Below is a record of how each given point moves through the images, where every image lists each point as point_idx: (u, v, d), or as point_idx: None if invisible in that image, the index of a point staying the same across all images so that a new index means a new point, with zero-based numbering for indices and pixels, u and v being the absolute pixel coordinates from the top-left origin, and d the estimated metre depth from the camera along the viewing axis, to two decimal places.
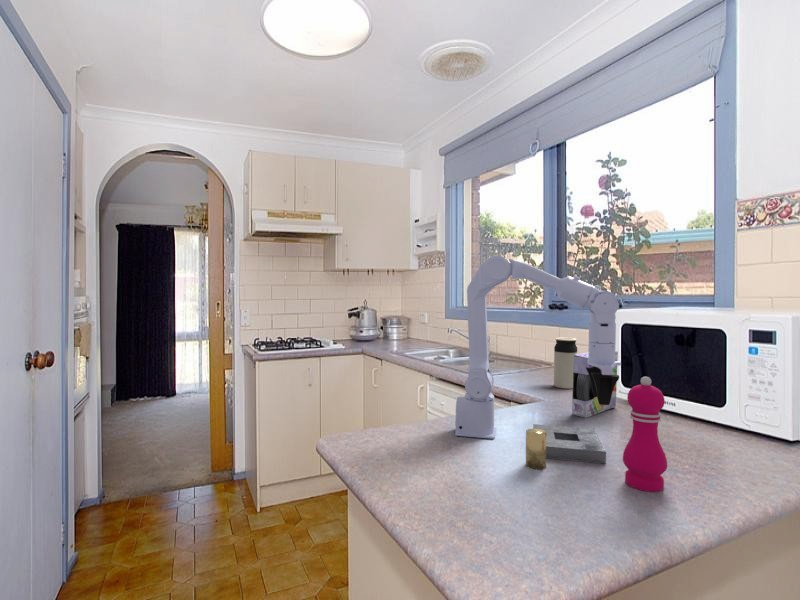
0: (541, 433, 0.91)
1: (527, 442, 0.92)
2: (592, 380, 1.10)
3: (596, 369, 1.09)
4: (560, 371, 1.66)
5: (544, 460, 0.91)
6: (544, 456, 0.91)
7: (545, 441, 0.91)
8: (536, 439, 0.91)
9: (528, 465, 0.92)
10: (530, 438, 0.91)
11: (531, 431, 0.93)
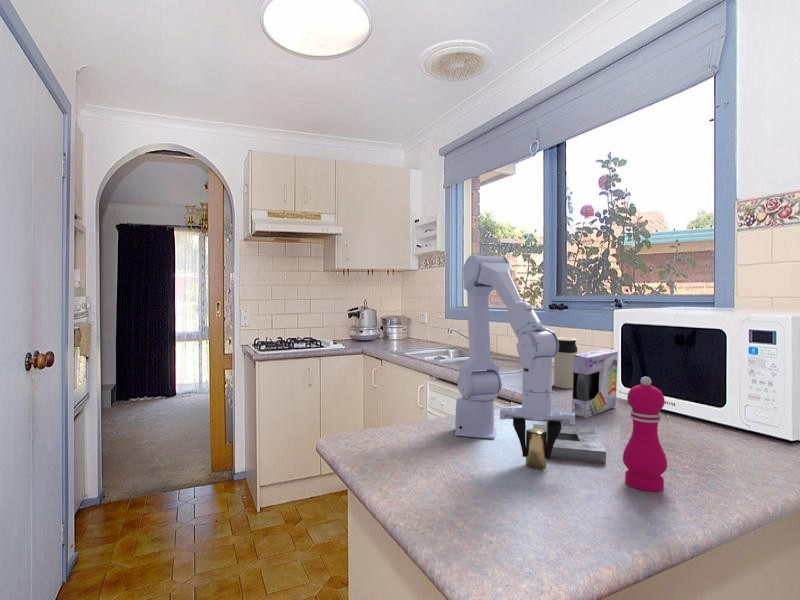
0: (541, 433, 0.91)
1: (527, 442, 0.92)
2: None
3: (547, 424, 0.92)
4: (560, 371, 1.66)
5: (544, 460, 0.91)
6: (544, 456, 0.91)
7: (545, 441, 0.91)
8: (536, 439, 0.91)
9: (528, 465, 0.92)
10: (530, 437, 0.91)
11: (531, 430, 0.93)
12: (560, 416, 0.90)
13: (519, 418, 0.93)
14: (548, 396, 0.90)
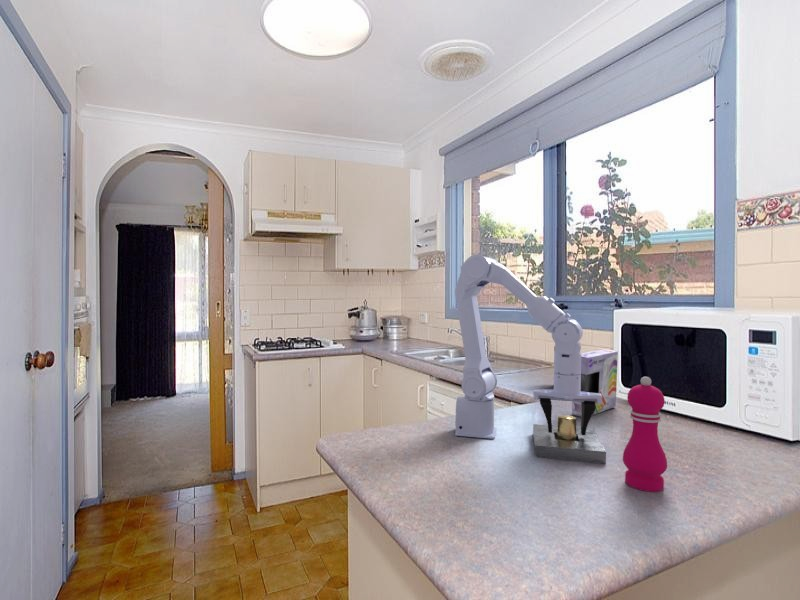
0: (571, 419, 1.01)
1: (558, 426, 1.03)
2: None
3: (582, 404, 1.03)
4: None
5: None
6: (573, 440, 1.01)
7: (574, 426, 1.01)
8: (566, 423, 1.01)
9: None
10: (561, 422, 1.02)
11: (562, 416, 1.03)
12: (589, 396, 1.00)
13: (545, 398, 1.04)
14: (578, 378, 1.01)
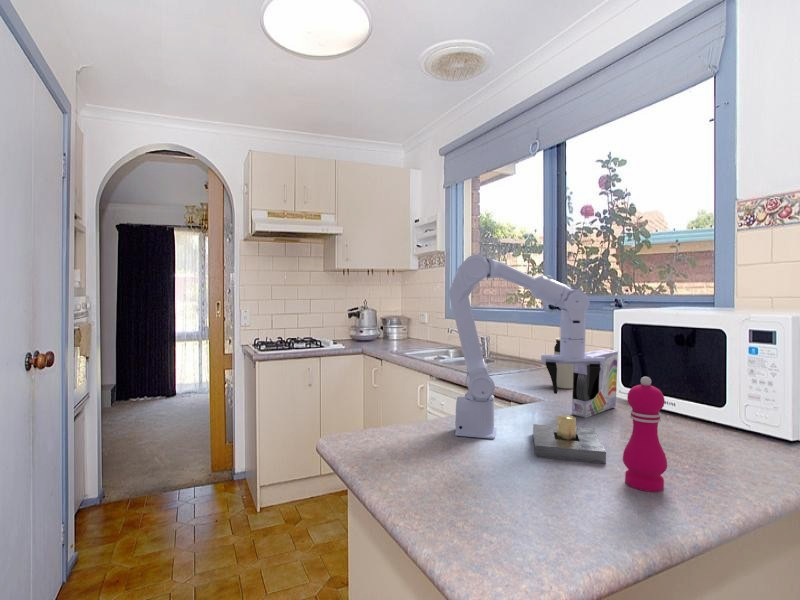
0: (571, 418, 1.02)
1: (557, 426, 1.03)
2: (587, 377, 1.12)
3: (588, 367, 1.11)
4: (560, 371, 1.66)
5: None
6: (573, 439, 1.01)
7: (574, 426, 1.01)
8: (565, 423, 1.01)
9: None
10: (560, 422, 1.02)
11: (561, 416, 1.03)
12: (593, 359, 1.08)
13: (551, 362, 1.12)
14: (582, 342, 1.09)
